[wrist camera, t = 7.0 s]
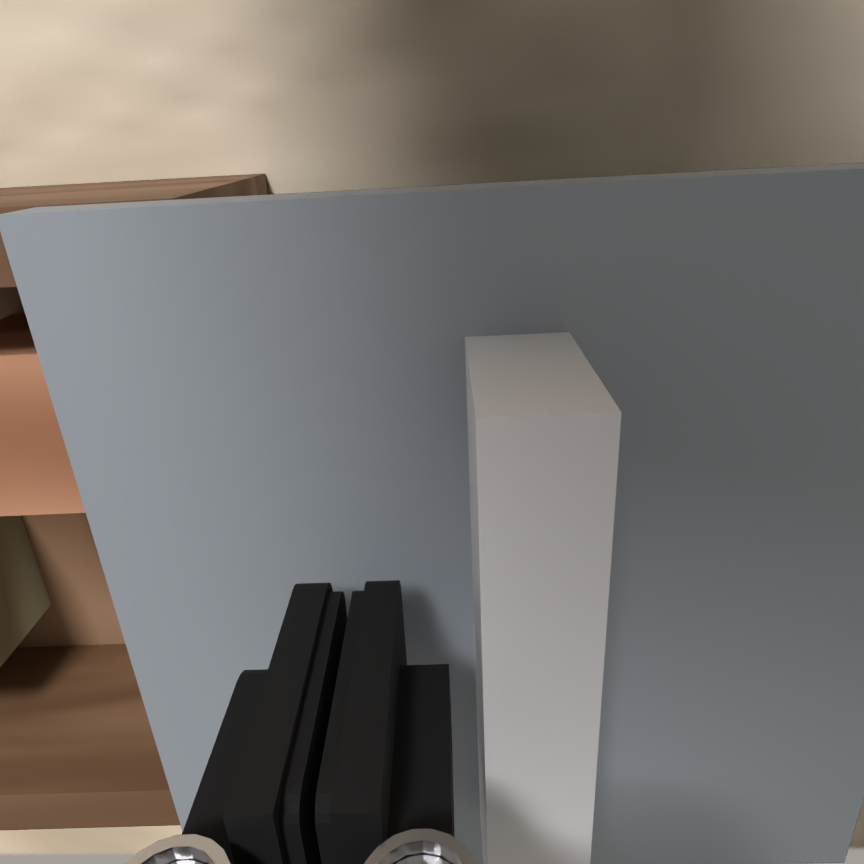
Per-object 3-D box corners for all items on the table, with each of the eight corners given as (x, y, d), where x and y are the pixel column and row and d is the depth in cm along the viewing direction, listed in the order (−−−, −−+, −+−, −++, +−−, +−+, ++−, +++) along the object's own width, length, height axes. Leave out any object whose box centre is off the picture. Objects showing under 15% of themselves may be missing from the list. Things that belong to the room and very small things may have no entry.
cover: (35, 206, 10) (-196, 252, 6) (1002, 154, 10) (1347, 171, 6) (211, 836, 16) (143, 1049, 12) (820, 818, 15) (939, 1034, 12)
